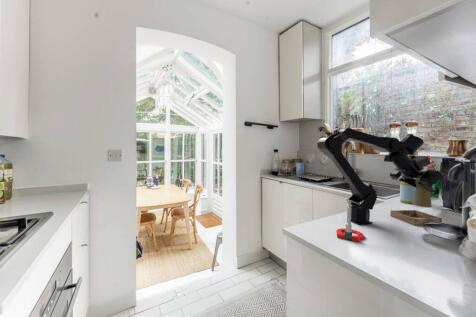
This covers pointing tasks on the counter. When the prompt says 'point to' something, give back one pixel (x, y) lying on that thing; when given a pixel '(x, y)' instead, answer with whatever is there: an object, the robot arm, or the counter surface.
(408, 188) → the bottle
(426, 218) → the tray
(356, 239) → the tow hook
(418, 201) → the cork
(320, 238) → the counter surface
